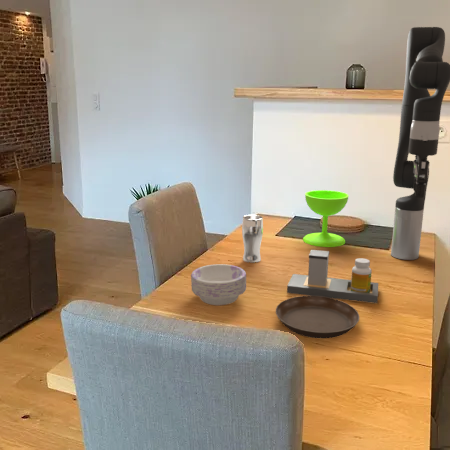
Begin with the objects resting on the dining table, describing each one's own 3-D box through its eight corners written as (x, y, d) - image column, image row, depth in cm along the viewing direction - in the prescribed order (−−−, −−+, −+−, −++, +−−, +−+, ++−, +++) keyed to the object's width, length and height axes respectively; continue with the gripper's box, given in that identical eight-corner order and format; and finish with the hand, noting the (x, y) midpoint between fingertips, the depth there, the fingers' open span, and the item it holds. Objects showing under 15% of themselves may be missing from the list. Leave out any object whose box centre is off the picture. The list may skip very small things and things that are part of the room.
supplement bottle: (370, 297, 147) (373, 264, 144) (350, 295, 148) (353, 262, 145) (369, 289, 152) (371, 258, 150) (350, 288, 153) (352, 256, 151)
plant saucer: (361, 347, 121) (362, 334, 120) (271, 339, 124) (272, 326, 123) (355, 310, 140) (356, 298, 140) (278, 304, 144) (279, 293, 143)
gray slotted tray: (292, 280, 160) (294, 245, 157) (377, 290, 153) (381, 253, 150) (287, 292, 151) (288, 255, 148) (377, 303, 144) (380, 264, 141)
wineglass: (349, 247, 193) (352, 199, 188) (305, 246, 193) (308, 199, 188) (340, 234, 208) (343, 190, 203) (300, 234, 208) (302, 190, 203)
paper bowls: (184, 293, 150) (183, 267, 148) (232, 285, 156) (232, 260, 154) (202, 314, 137) (202, 286, 135) (255, 305, 143) (255, 277, 140)
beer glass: (238, 261, 177) (239, 218, 173) (245, 255, 183) (246, 213, 179) (258, 264, 174) (259, 220, 170) (264, 258, 180) (265, 215, 176)
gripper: (408, 133, 153) (403, 188, 158) (411, 139, 140) (405, 198, 144) (436, 134, 151) (429, 189, 156) (441, 140, 138) (434, 200, 142)
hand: (418, 194), depth 150 cm, fingers open, 8 cm apart
